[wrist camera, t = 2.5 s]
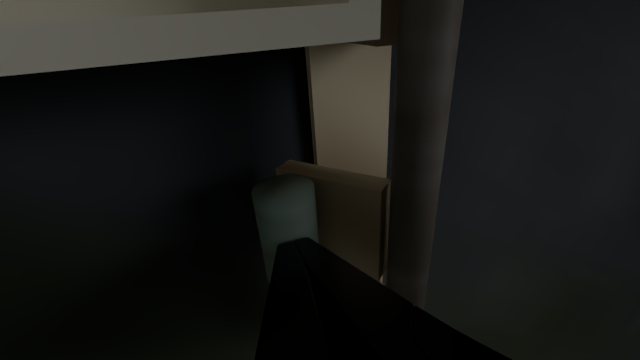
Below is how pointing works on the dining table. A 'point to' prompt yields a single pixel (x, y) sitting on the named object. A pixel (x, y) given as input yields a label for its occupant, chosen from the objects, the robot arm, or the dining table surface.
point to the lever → (371, 191)
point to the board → (169, 29)
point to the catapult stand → (353, 99)
